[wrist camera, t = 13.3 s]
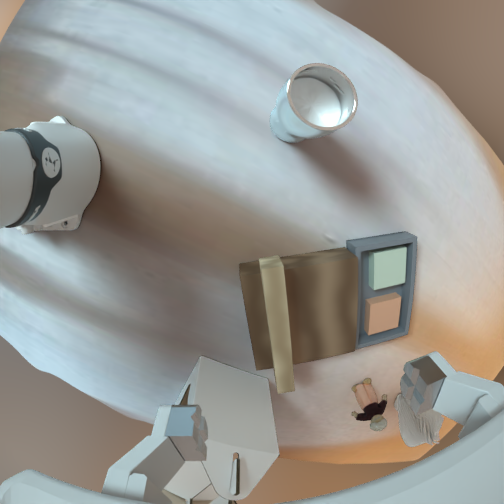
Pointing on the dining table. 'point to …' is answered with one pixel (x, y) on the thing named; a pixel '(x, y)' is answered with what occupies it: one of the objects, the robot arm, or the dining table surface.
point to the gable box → (226, 435)
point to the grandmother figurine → (370, 405)
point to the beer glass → (313, 103)
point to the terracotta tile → (382, 313)
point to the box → (404, 290)
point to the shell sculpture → (417, 423)
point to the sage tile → (387, 266)
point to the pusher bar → (278, 321)
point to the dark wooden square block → (307, 305)
